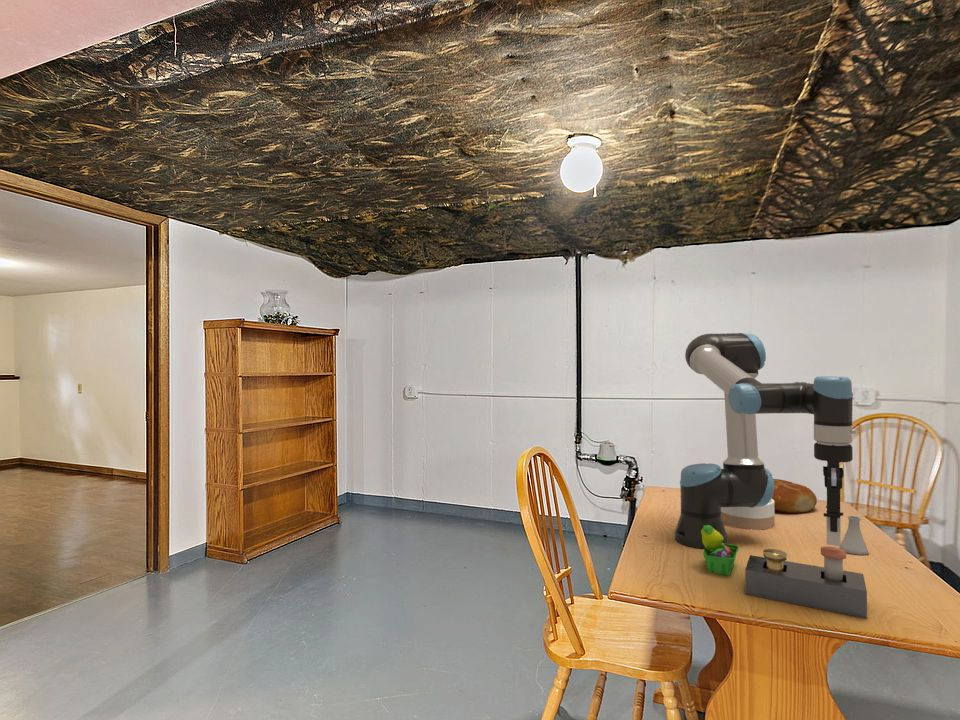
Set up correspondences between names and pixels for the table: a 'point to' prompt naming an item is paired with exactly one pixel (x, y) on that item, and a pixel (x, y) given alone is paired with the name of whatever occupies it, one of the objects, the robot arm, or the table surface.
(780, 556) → the brass plunger
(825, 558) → the red plunger
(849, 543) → the flask
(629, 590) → the table surface
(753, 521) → the bowl
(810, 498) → the bread
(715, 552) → the fruit basket
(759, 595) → the block
